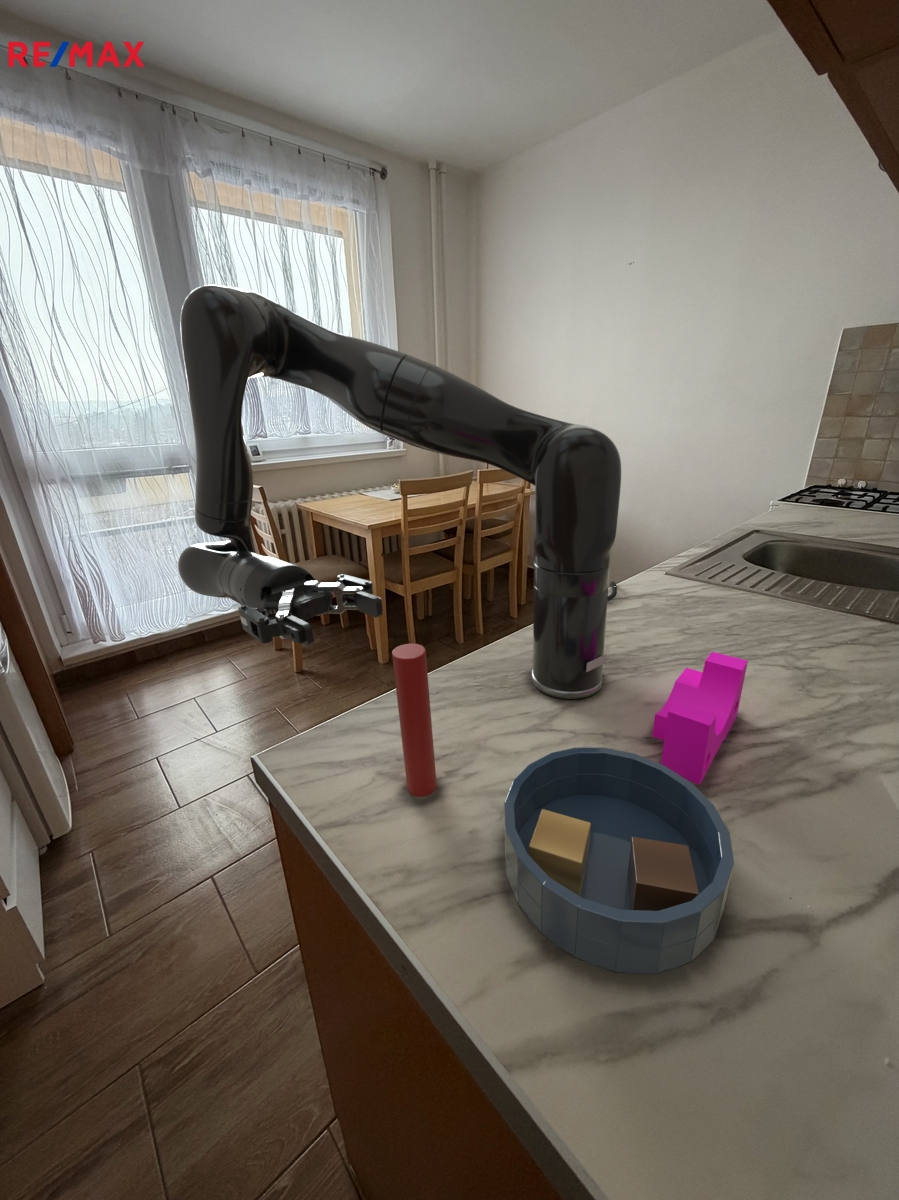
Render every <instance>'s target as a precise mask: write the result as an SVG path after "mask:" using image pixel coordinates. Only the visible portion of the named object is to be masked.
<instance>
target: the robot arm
mask: <svg viewBox="0 0 899 1200" xmlns="http://www.w3.org/2000/svg"><path fill="white" fill-rule="evenodd" d="M180 338H181V339H180V340H181V349H182V357H183V361H184V370H185V376H186V381H187V389H188V397H189V405H190V411H191V418H192V419H191V420H192V426H193V428H192V429H193V435H194V442H195V496H194V497H195V501H194V520H195V524H196V526H197V527H198V529H199V530H201V531H202V532H203V533H205V534H208V535H210V536H212V537H213V536H214V537H218V538H225V539H228V540H223V541H211V542H203V543H202V542H200V543H194V544H191V545H189V546H187V547H185V549H184V550H183V551H182V552H181V553H180V555H179V558H178V560H177V569H178V574H179V576H180V579H181V580H182V582H183V583H184V585H185V586H186V587H188V589H189V590H191V591H192V592H194V593H196V594H199V595H202V596H207V597H212V598H219V599H231V600H232V601H234V602H236V603H237V604H239V605H240V606H239V607H237V608H238V614H239V619H240V622H241V626H242V630H243V631H245V632H246V633H247V634H248V635H250V636H251V637H252V638H254V639H255V640H256V641H258V642H259V643H260V644H270V643H271V642H273V641H274V638H275V637H279V638H280V639H281V640H286V639H288V640H289V641H292V642H293V643H295V644H298V645H300V644H301V645H303V646H305V647H308V646H311V645H313V644H314V643H315V637H314V632H313V627H312V625H311V624H310V622H307V621H306V620H309V619H311V618H313V617H319V616H322V615H337V614H338V615H343V613H345V611H349V610H350V611H357V610H358V612H360V613H363V614H365V615H368V616H370V617H373V618H376V619H377V618H379V617H381V616H383V611H384V609H383V601H382V598H381V597H380V596H377V595H375V594H374V589H373V582H372V581H371V580H367V579H364V578H361V577H360V578H359V577H356V576H353V575H349V574H345V573H344V574H343V573H341V574H338V575H337V576H336V579H337V581H336V582H323V581H320V580H316V579H315V578H314V576H313V575H312V574H311V573H310V572H309V571H308V570H307V569H306V568H304V567H302V566H299V565H297V564H294V563H291V562H288V561H285V560H283V559H279V558H277V557H273V556H267V555H262V554H259V553H257V551H256V547H255V544H254V538H253V537H254V536H253V531H252V525H251V524H252V523H251V518H252V517H251V516H252V507H253V498H254V470H253V465H252V461H251V457H250V453H249V451H248V447H247V443H246V440H245V436H244V430H243V406H244V399H245V393H246V389H247V385H248V382H249V379H250V378H257V377H260V378H261V377H262V378H263V377H264V378H269V379H275V380H279V381H282V382H285V383H289V384H293V385H295V386H298V387H301V388H304V389H307V390H310V391H312V392H314V393H317V394H319V395H321V396H323V397H325V398H326V399H328V400H329V401H330V402H332V403H333V404H335V405H336V406H337V407H339V408H340V409H341V410H342V411H344V412H345V413H346V414H348V415H349V416H350V417H352V418H353V419H354V420H356V421H357V422H359V423H360V424H362V425H364V426H366V427H368V428H369V429H371V430H373V431H375V432H377V433H379V434H382V435H384V436H387V437H389V438H391V439H394V440H396V441H398V442H401V443H404V444H407V445H409V446H412V447H415V448H419V449H422V450H425V451H429V452H433V453H436V454H441V455H445V456H450V457H454V458H460V459H465V460H470V461H474V462H480V463H484V464H488V465H490V466H493V467H496V468H499V469H500V470H503V471H505V472H507V473H510V474H511V475H514V476H516V477H517V478H519V479H521V480H524V481H525V482H528V483H529V484H531V485H533V486H535V488H534V489H535V490H534V491H535V494H534V495H535V496H534V497H535V498H534V504H535V505H534V506H535V507H534V538H533V539H534V540H533V620H532V621H533V623H532V624H533V625H532V627H533V631H532V635H533V636H532V670H531V681H532V684H533V685H534V687H535V688H536V689H538V690H539V691H540V692H542V693H544V694H546V695H547V696H548V695H549V696H551V697H554V698H558V699H559V698H560V699H567V700H577V699H585V698H588V697H591V696H594V695H595V694H597V693H598V692H599V691H600V690H601V688H602V686H603V666H604V664H606V658H607V653H606V654H604V653H605V640H606V628H607V627H606V626H607V613H608V612H607V611H608V602H609V601H612V600H613V599H614V598H616V596H617V593H618V588H617V584H616V582H615V581H614V580H611V582H610V570H611V569H610V567H611V566H610V565H611V558H612V557H611V555H612V549H613V547H614V545H615V541H616V536H617V530H618V529H617V527H618V520H619V519H618V517H619V509H620V508H619V507H620V498H621V487H622V461H621V455H620V452H619V450H618V448H617V446H616V443H614V441H613V440H612V439H611V438H610V437H609V436H608V435H606V433H603V432H602V431H601V430H598V429H596V428H593V427H591V426H589V425H588V426H587V425H583V424H577V423H571V422H567V421H562V420H558V419H555V418H551V417H547V416H544V415H541V414H537V413H534V412H531V411H527V410H525V409H521V408H519V407H517V406H515V405H513V404H512V405H511V404H509V403H507V402H506V401H504V400H502V399H500V398H498V397H496V396H495V395H493V394H492V393H489V392H488V391H487V390H484V389H482V388H481V387H479V386H477V385H476V384H474V383H472V382H470V381H468V380H466V379H464V378H462V377H460V376H458V375H456V374H454V373H453V372H450V371H449V370H446V369H443V368H442V367H439V366H438V365H434V364H433V363H430V362H427V361H425V360H423V359H420V358H418V357H416V356H412V355H411V354H410V355H409V354H407V353H406V352H405V353H404V352H401V351H399V350H395V349H392V348H389V347H386V346H384V345H381V344H377V343H375V342H371V341H367V340H365V339H362V338H357V337H354V336H350V335H346V334H342V333H339V332H335V331H333V330H330V329H328V328H325V327H323V326H321V325H320V324H317V323H315V322H313V321H311V320H309V319H307V318H305V317H303V316H301V315H299V314H298V313H296V312H294V311H292V310H290V309H288V308H287V307H285V306H283V305H281V304H279V303H277V302H276V301H274V300H271V299H270V298H268V297H267V296H265V295H263V294H261V293H259V292H257V291H253V290H250V289H245V288H240V287H239V288H238V287H232V286H227V285H218V284H205V285H202V286H199V287H196V288H194V289H193V290H192V291H191V292H190V293H189V294H188V295H187V296H186V298H185V299H184V302H183V305H182V308H181V311H180ZM609 582H610V583H609ZM609 586H610V587H611V591H612V592H611V594H609ZM614 586H616V587H614ZM334 595H335V602H336V605H333V597H334ZM347 599H351V600H353V601H348V600H347Z"/></svg>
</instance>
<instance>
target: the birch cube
mask: <svg viewBox="0 0 899 1200" xmlns="http://www.w3.org/2000/svg"><path fill="white" fill-rule="evenodd" d="M590 831H591V823H590V822H586V821H583V820H579V819H576V818H572V817H569V816H565V815H562V814H558V813H555V812H551V811H548V810H544V809H542V811H541V813H540V816H539V819H538V822H537V825H536V828H535V831H534V833H533V836H532V839H531V842H530V845H529V856H530V857H531V858H532V859H533V860H534V861H535V862H536V863H537V865H538V866H539V867H540V868H541V869H542V870H543V871H544V872H545V873H546V874H547V875H548V876H549V877H550V878H551V879H553V880H554V881H556V882H558V883H559V884H561V885H562V886H564V887H566V888H567V889H569V890H570V891H572V892H574V893H575V894H577V895H578V896H581V892H582V887H583V882H584V877H585V873H586V868H587V863H588V859H589V845H590Z"/></svg>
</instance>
